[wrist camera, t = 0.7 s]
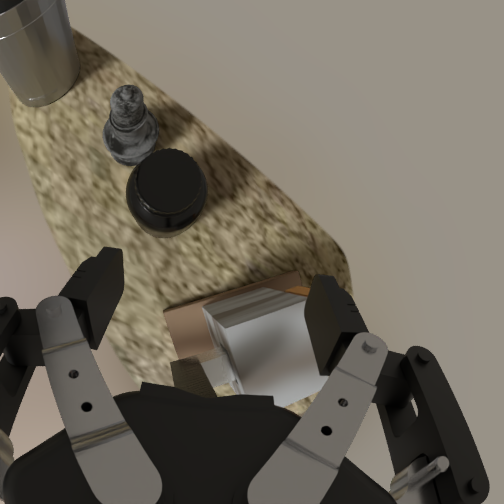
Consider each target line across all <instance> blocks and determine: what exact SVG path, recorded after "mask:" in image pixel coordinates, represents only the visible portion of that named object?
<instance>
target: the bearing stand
mask: <svg viewBox="0 0 504 504" xmlns="http://www.w3.org/2000/svg"><path fill="white" fill-rule="evenodd" d="M296 286H301V287H302V283H301V279H300V275H299V271H290V272H287V273H284V274H281V275H278V276H275V277H271V278H268V279H265V280H262V281H259V282H256V283H252V284H249V285H246V286H243V287H240V288H236V289H233V290H230V291H227V292H223V293H220V294H217V295H214V296H210V297H207V298H204V299H200V300H197V301H194V302H190V303H187V304H183V305H180V306H177V307H173V308H170V309H166V310H163V313H164V317H165V320H166V323H167V326H168V329H169V332H170V335H171V338H172V341H173V344H174V347H175V350H176V353H177V355H178V358H179V360H180V359H183V358H187V357H190V356H193V355H196V354H199V353H203V352H206V351H209V350H212V349H215V348H218V347H221V346H224V348H225V349H226V350H227V351H228V354H229V357H230V360H231V363H232V367H233V370H234V373H235V376H236V379H237V380H234V381H231V382H228V383H229V384H230V386H231V387H232V388H233V390H234V391H235V393H236V394H237V395H239V394H248V395H268V396H273V397H274V405H276V406H280V407H285V406H287V405H290V404H292V403H294V402H296V401H299V400H301V399H303V398H305V397H307V396H309V395H312V394H314V393H316V392H318V391H320V390H321V389H322V387H323V386H324V384H325V382H326V381H327V379H328V376H320V375H319V371H318V367H317V363H316V359H315V355H314V352H313V348H312V344H311V340H310V337H309V333H308V329H307V326H306V322H305V318H304V307H305V303H306V300H307V297H304V296H299V295H295V294H291V293H286V292H285V290H288V289H290V288H293V287H296Z"/></svg>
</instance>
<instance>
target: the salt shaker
mask: <svg viewBox="0 0 504 504" xmlns="http://www.w3.org/2000/svg"><path fill="white" fill-rule="evenodd" d="M110 105H111V111H110V115H109V119H108V121H107V122H106V124H105V126H104V129H103V141H104V144H105V146H106V148H107V149H108V151H110V152H111V155H112V156H113V158H114V159H115V160H116V161H117V162H118V163H120V164H122V165H126V166H135V165H137V164H138V163H139V162H141V161H142V160H143V159H145V157H147V156H149V155H150V154H151V153H153V151H154V148H155V142H156V141H157V138H158V134H159V125H158V122H157V119H156V118H155V116H154V115H153V114H152V113H151V112H150V111H149V110H147V107H146V105H145V104H144V102H143V94H142V92H141V90H140V89H139V88H138V87H137V86H134V85H124V86H121V87H119V88H118V89H116V90H115V91H114V93H113V94H112V97H111V100H110Z"/></svg>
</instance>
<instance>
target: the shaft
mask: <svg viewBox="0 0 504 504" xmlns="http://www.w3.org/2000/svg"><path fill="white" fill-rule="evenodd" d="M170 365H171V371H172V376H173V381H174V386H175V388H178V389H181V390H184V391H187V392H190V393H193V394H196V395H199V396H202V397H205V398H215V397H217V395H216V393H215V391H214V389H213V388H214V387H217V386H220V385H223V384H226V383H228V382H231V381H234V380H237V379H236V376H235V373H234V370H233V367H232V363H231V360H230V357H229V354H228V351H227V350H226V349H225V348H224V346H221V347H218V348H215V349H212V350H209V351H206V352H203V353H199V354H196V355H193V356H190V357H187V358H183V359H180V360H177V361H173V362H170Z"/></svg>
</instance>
